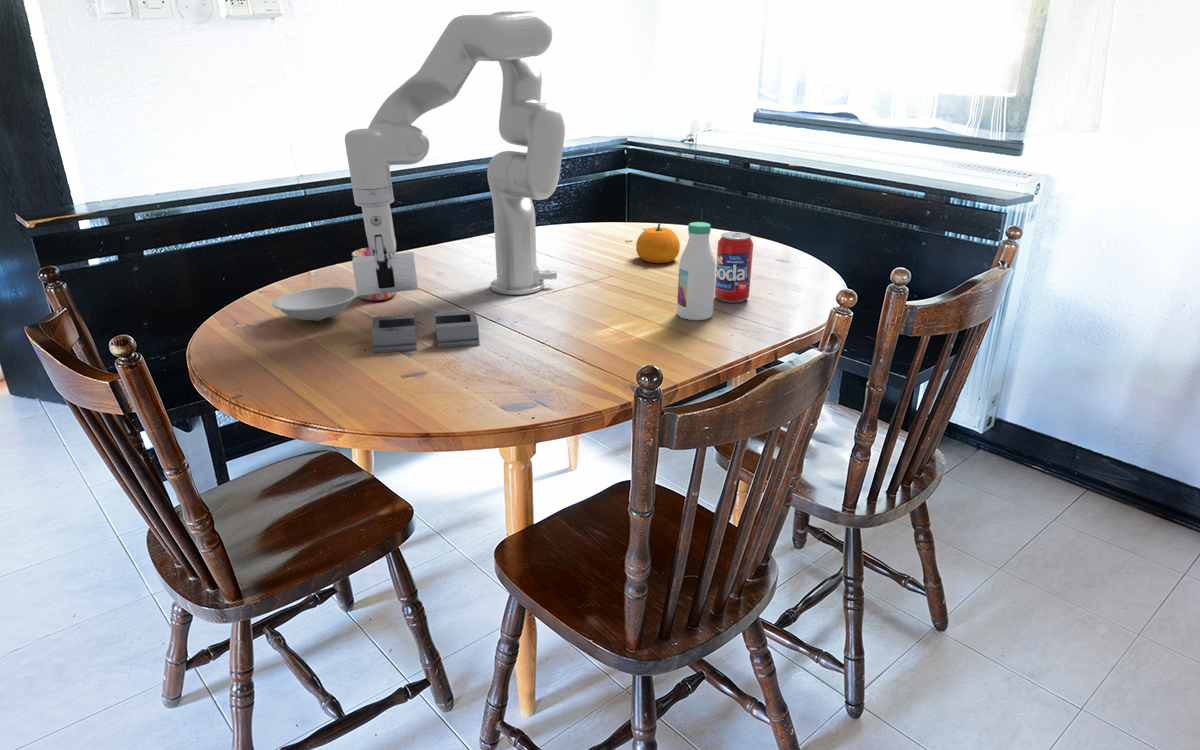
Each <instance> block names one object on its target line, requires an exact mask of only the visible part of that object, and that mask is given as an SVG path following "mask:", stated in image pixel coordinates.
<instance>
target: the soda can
mask: <svg viewBox="0 0 1200 750" xmlns="http://www.w3.org/2000/svg"><path fill="white" fill-rule="evenodd" d="M720 235H721V237H720V238H719V240H718V241H717V250H716V251H717V253H716V263H715V286H714V298H717V299H718V300H719V301H721V302H723V301H724V302H723V303H727V302H728V303H729V304H738V302H739V303H742V302H744V301H746V300H747V299H748V298H749V296H750V290H751V278H752V266H753V253H754V241H753V240H752V239H751V238H752V235H751V234H750V233H748V232H747V233H746V232H741V231H740V232H739V231H728V232H723V233H721V234H720ZM728 303H727V304H728Z"/></svg>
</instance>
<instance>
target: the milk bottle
mask: <svg viewBox="0 0 1200 750" xmlns="http://www.w3.org/2000/svg"><path fill="white" fill-rule="evenodd" d="M687 228H688V229H687V234H688V240H687V242H686V245H685V248H684V249H683V251H682V254H681V256H680V260H679V266H678V267H679V269H678V280H677V281H678V282H677V283H678V284H677V299H676V301H677V302H676V303H677V304H676V305H677V306H676V313H677V316H678V317H679V316H680V317H679V318H681V319H683V318H684V319H685V320H687V319H688V321H705V320H709V319H710V318H712V316H713V313H714V300H715V299H714V298H715V279H716V258H715V255H714V252H713V250H712V246H711V244H710V243H711V242H710V235H711V229H712V227H711V224H710V223H708V222H703V221H695V222H690V223H688V226H687ZM684 319H683V320H684Z"/></svg>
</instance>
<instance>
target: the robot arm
mask: <svg viewBox="0 0 1200 750" xmlns="http://www.w3.org/2000/svg"><path fill="white" fill-rule="evenodd" d="M552 38H553V29H552V25H551V23H550V21H549V20H548V19H547V16H544V15H543V14H542V13H540V12H537V11H533V10H532V11H528V10H526V11H523V10H522V11H515V10H514V11H512V10H511V11H497V12H494V13H492V14H465V15H464V14H462V15H458V16H456V17H454V18H452V19H451V20H450V22H449V23H448V24H447V26H446V28H444V30H443V32H442V33H441V35H440V36H439V38H438V40H437V41H436V43H435V44H434V46H433V48H432V49H431V51H430V52H429V54H428V56H427V57H426V59H425V61H424V62H423V64H422V65H421V66H420V69H419V70H418V71H417V72H416V73H415V74H413V75H412V76H411V77H409V78H408V79H407V80H406V81H405V82H404V83H403V84H402V85H400V86H399V87H397V88H396V89H395V90H394V91H393V92H392V93H391V94H390V95H389V96H388V97H386V99H385V100H384V101H383V103H382V104H381V106H380V107H379V109H378V110H377V111H376V113H375V115H374V116H373V118H372V119H371V121H370V124H369V125H368V128H357V129H352V130H349V131H348V132H347V133H346V134H345V136H344V145H345V151H346V157H347V163H348V169H349V175H350V182H351V189H352V193H353V199H354V205H355V206H357V207H361V211H362V217H363V223H364V229H365V235H366V238H367V239H366V240H367V245H368V248H369V249H370V253H371V255H372V256H374V254H375V261H376V268H377V269H376V274H377V280H378V287H379V288H380V289H382V288H392V287H395V283H394V276H393V269H392V268H391V265H390V258H389V254H390V253H392V254H396V252H397V240H396V236H395V235H396V234H395V229H394V222H393V216H392V215H393V214H392V209H391V204H392V203H394V202H395V196H394V190H393V184H392V182H393V181H392V175H391V170H390V169H391V166H403V165H404V166H405V165H408V166H409V165H414V164H415V165H416V164H418V163H420V162H421V161H423V160H424V158H426V157H427V155H428V152H429V150H430V141H429V139H428V136H427V134H426V133H425V132H424V130H422V129H421V128H420V127H417V126H415V125H412V124H414V122H415V121H417V119H419V118H420V117H421V116H422V115H424V114H425V113H427V112H430V111H431V110H434V109H436V108H439V107H442V106H444V105H446V104H447V103H450V102H452V101H454V100H455V98H456V97H457V96H458V94H459V92H460V91H461V89H462V88H463V86H464V84H465V82H466V81H467V80H468V78H469V76H470V74H471V72H472V71H473V69H474V68H475V66H476V65H477V64H478V62H483V61H484V62H498V63H499V66H500V68H501V73H502V92H501V100H500V111H499V117H498V118H499V119H498V131H499V135H500V137H501V139H502V140H503V141H505V142H506V143H508V144H512V145H516V146H521V147H527V149H526V151H527V152H522V151H515V150H504V151H500V152H498V153H496V154H494V156H492V158H491V159H490V160H489V163H488V165H487V170H486V171H487V175H486V176H487V177H486V178H487V183H488V186H489V190H490V194H491V200H492V209H493V225H494V227H493V229H494V246H495V263H496V264H495V265H496V267H495V268H496V278H495V279H493V280H492V281H491V282H490V289H491V290H492V291H493V292H495V293H498V294H501V295H510V296H511V295H512V296H517V295H518V296H521V295H530V294H535V293H536V292H537V293H538V292H539V291H541V290H542V289H543V288H544V280H557V279H558V278H557V277H558V274H557V271H556V270H554V271H551V270H550V269H544V270H543V269H542V270H541V269H539V267H538V266H537V236H536V235H537V234H536V229H537V228H536V211H535V206H534V203H533V200H536V201H542V200H546V199H548V198H550V197H551V196H552V195H553V194H554V193H555V191H556V189H557V187H558V183H559V180H560V174H561V169H562V168H561V165H562V159H563V152H564V145H565V144H564V143H565V134H566V130H565V121H564V117H563V116H562V113H561V112H560V110H559V109H558V108H557V107H556V106H554V105H553V104H550V103H546V102H541V99H542V97H541V96H542V80H543V79H542V72H541V69H540V66H539V63H538V61H537V58H536V57H538V56H541V55H542V54H544V53H546V52H547V50H548V49H549V47H550V46H551V43H552V40H553V39H552ZM385 257H387V259H386V258H385Z"/></svg>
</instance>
